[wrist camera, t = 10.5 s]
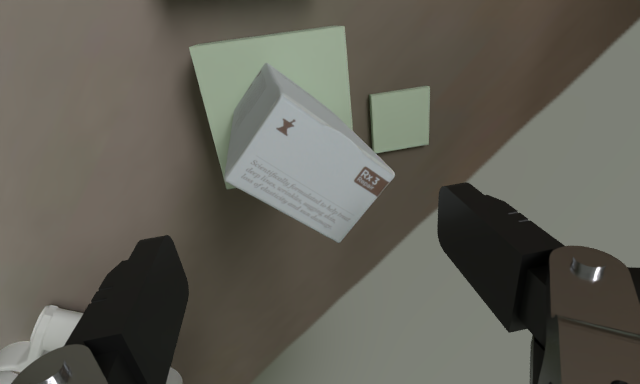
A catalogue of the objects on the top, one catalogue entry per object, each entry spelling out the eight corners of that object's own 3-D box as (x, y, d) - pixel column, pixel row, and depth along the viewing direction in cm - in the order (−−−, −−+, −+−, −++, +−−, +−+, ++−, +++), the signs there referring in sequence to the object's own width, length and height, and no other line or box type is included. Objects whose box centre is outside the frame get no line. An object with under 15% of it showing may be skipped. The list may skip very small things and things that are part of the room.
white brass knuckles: (207, 330, 38) (167, 416, 43) (13, 287, 32) (-9, 391, 37) (203, 356, 35) (160, 446, 40) (-12, 314, 29) (-33, 424, 34)
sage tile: (426, 85, 30) (429, 86, 29) (425, 142, 32) (428, 144, 31) (369, 94, 29) (371, 96, 29) (372, 151, 31) (374, 153, 31)
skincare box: (231, 113, 24) (210, 185, 13) (267, 57, 23) (275, 86, 12) (304, 160, 27) (335, 253, 16) (340, 110, 25) (400, 175, 15)
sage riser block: (333, 25, 27) (344, 26, 23) (344, 150, 31) (355, 167, 27) (198, 44, 26) (189, 47, 22) (230, 169, 30) (226, 189, 27)
